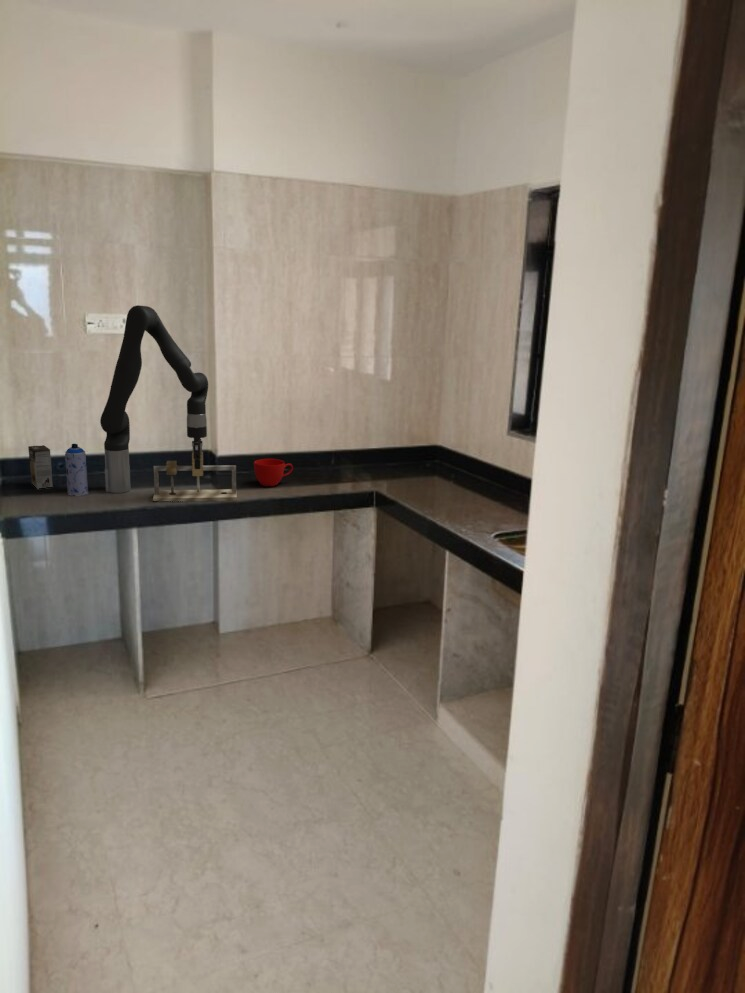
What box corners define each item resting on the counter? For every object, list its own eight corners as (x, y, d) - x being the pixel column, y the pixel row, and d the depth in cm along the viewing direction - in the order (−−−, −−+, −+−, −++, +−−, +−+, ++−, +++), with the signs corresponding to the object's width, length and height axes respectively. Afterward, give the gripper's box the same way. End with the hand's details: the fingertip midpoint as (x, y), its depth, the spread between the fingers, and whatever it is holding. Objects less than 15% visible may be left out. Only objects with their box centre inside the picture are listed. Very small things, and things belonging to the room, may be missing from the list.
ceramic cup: (296, 487, 320) (297, 464, 317) (257, 489, 314) (257, 466, 311) (288, 479, 331) (288, 457, 329) (251, 481, 325) (250, 459, 322)
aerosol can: (67, 491, 299) (63, 442, 294) (88, 490, 302) (85, 441, 297) (67, 496, 292) (63, 446, 287) (88, 495, 295) (85, 445, 290)
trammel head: (193, 493, 295) (191, 454, 291) (193, 490, 300) (192, 451, 296) (203, 493, 296) (202, 454, 292) (203, 490, 301) (202, 451, 296)
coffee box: (31, 484, 307) (27, 446, 303) (47, 482, 311) (44, 444, 307) (36, 489, 300) (33, 450, 296) (53, 487, 304) (50, 448, 300)
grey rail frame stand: (153, 502, 290) (151, 465, 286) (155, 493, 301) (154, 458, 297) (236, 500, 296) (236, 465, 292) (236, 492, 307) (236, 458, 303)
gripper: (187, 421, 297) (188, 463, 301) (185, 428, 283) (187, 471, 288) (207, 421, 298) (207, 463, 303) (206, 428, 285) (207, 471, 289)
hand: (197, 467), depth 295 cm, fingers closed on trammel head, 5 cm apart
